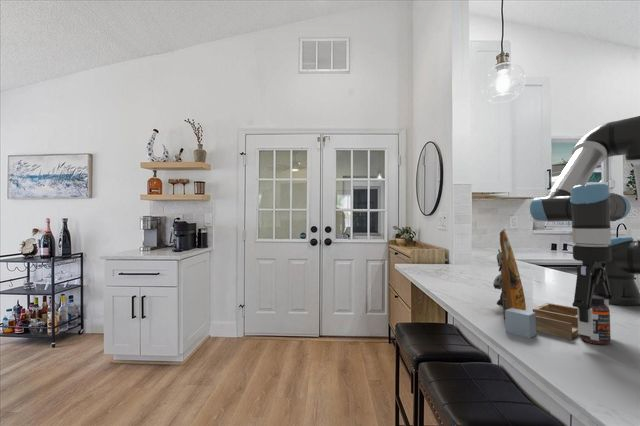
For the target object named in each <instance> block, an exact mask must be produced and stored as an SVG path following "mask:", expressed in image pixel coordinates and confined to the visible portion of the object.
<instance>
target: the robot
mask: <svg viewBox="0 0 640 426" xmlns="http://www.w3.org/2000/svg"><path fill="white" fill-rule="evenodd" d="M497 251H498V253H497V254H496V260H497V266H498V267H499V268H498V272H500V274H498V275H497V276H496V277H495V278H494V281H493V284H492V285H493V288H494V289H495V290H496V289H497V290H502V260H503V256H502V250H501V249H498V250H497ZM496 304H497V305H498V306H501V307H503V302H502V291H501V292H500V296H499V299H498V300H497V301H496Z"/></svg>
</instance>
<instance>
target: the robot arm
mask: <svg viewBox="0 0 640 426" xmlns="http://www.w3.org/2000/svg"><path fill="white" fill-rule="evenodd" d="M623 155H624V156H625V160H626V162H628V163H630V164H632V166H633V174H634V178H635V179H634V180H635V187H636V193H637V194H636V195H637V201H638V208H639V210H640V115H638V116H634V117H628V118H623V119H619V120H616V121H610V122H606V123H603V124H602V125H599V126H598V127H595V128H594V129H593V130H591V131H589V132H588V133H587V134H585V135H584V136H582V138H580V140H579V141H578V142H577V143H576V144H575V146H574V147H573V149H572V151H571V157H570V159H569V160H568V162H567V164H566V165H565V167H564V168H563V169H562V171H561V173H560V174H559V176H558V178H557V179H556V180H555V182H554V183H553V185H552V186H551V188H550V190H549V191H548V192H547V194H546V195H545V196H544V197H543V196H540V197H535V198H533V199H531V201H530V204H529V213H530V216H531V218H532V219H533V220H534V221H537V222H548V223H549V222H571V228H572V229H571V231H570V232H569V234H570V236H572V243H573V244H575V245H573V246H572V259H573V260H575V261H577V262H578V261H579V262H580V261H581V263H582V264H581V265H577V267H576V280H575V281H576V282H575V287H574V288H575V291H574V297H573V298H574V299H573V302H572V304H571V305H572V307H574V308H577V314H578V334H579V335H580V334H581V335H586V336H590V337H593V314H592V309H590V308H591V302H592V297H593V295H595V296H601V297H604V304H605V305H606V306H607V307H608V308H609V309H610V305H621V306H638V305H640V289H639V287H638V285H637V283H636V281H635V279H636V278H635V275H640V235H638V237H637V238H636V239H637V240H634V238H633V237H632V236H620V237H612V232H611V231H612V230H611V222H616V221H620V220H622V219H624V218H626V217H627V216H628V215H629V213H630V212H631V203H630V201H629V200H628V198H627V197H626V196H623V195H622V194H618V193H615V192H611V193H610V190H609V186H608V185H607V184H605V183H590V184H587V183H588V182H589V180H590V178H591V176H592V175H593V173H594V172H595V170H596V168H597V167H598V165H600V164H601V163H603V162H604V161H605V160H606V158H610V157H617V156H623Z"/></svg>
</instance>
